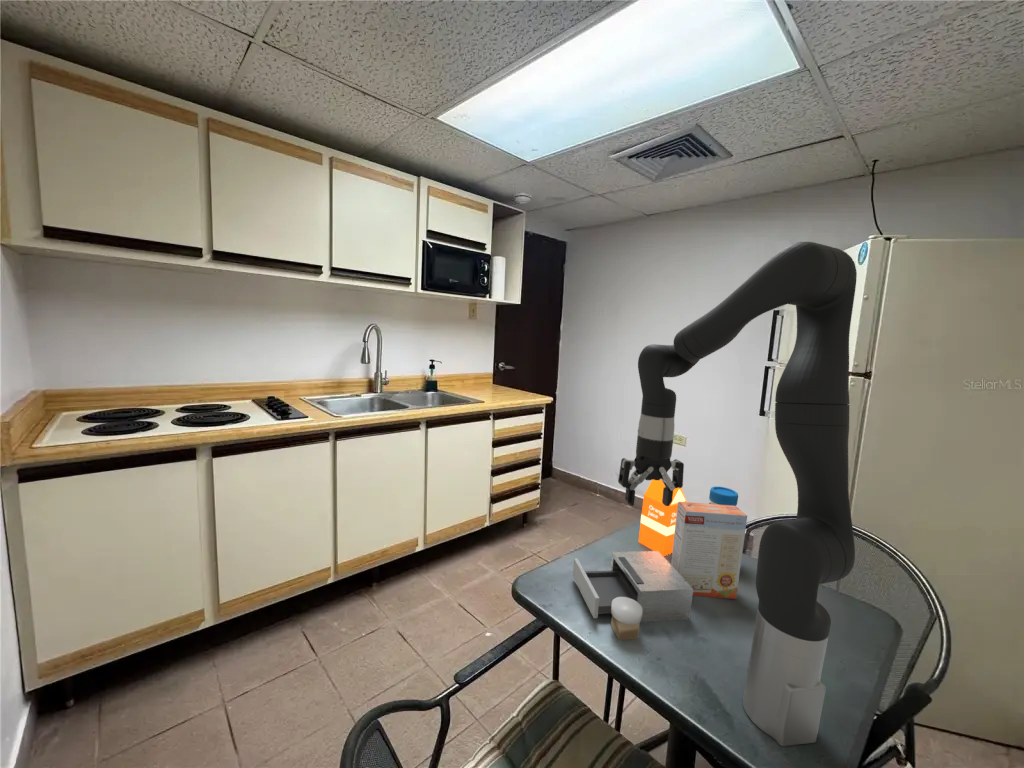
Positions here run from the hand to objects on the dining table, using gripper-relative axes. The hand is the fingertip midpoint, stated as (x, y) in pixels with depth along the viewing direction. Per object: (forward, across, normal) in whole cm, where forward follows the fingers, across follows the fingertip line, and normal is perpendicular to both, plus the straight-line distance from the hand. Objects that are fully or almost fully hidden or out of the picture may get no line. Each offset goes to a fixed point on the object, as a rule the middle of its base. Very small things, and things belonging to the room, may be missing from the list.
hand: (648, 504), depth 93 cm
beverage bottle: (+22, +28, +13) cm, 38 cm away
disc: (+18, -8, -12) cm, 23 cm away
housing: (+22, +1, -1) cm, 22 cm away
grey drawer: (+20, -8, -2) cm, 22 cm away
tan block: (+22, -8, -12) cm, 26 cm away
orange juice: (+22, +16, +21) cm, 34 cm away
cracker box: (+22, +16, +1) cm, 27 cm away
